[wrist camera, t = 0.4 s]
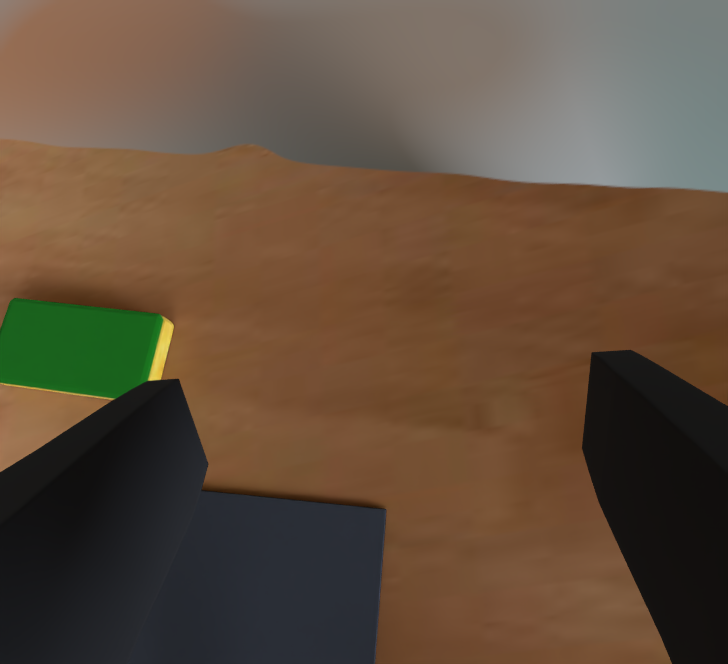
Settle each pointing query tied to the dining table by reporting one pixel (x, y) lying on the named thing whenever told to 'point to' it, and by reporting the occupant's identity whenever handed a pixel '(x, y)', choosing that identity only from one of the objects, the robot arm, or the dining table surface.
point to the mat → (269, 585)
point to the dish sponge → (81, 348)
